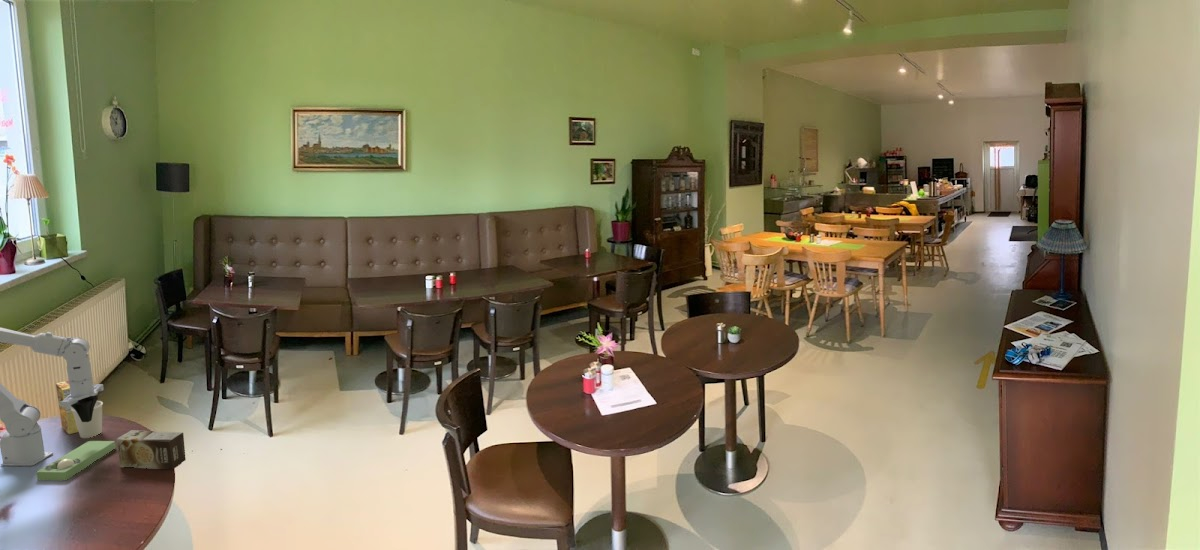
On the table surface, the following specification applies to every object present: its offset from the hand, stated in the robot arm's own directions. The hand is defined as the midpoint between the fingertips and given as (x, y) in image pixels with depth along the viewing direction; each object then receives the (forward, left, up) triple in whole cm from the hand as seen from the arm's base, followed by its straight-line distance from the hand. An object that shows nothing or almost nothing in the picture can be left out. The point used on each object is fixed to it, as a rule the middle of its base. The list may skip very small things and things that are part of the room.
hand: (86, 421), depth 208 cm
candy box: (-17, +15, -10) cm, 25 cm away
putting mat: (+3, -9, -9) cm, 13 cm away
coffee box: (+17, -8, -5) cm, 19 cm away
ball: (+4, -14, -7) cm, 17 cm away
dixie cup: (-8, +11, -10) cm, 17 cm away
